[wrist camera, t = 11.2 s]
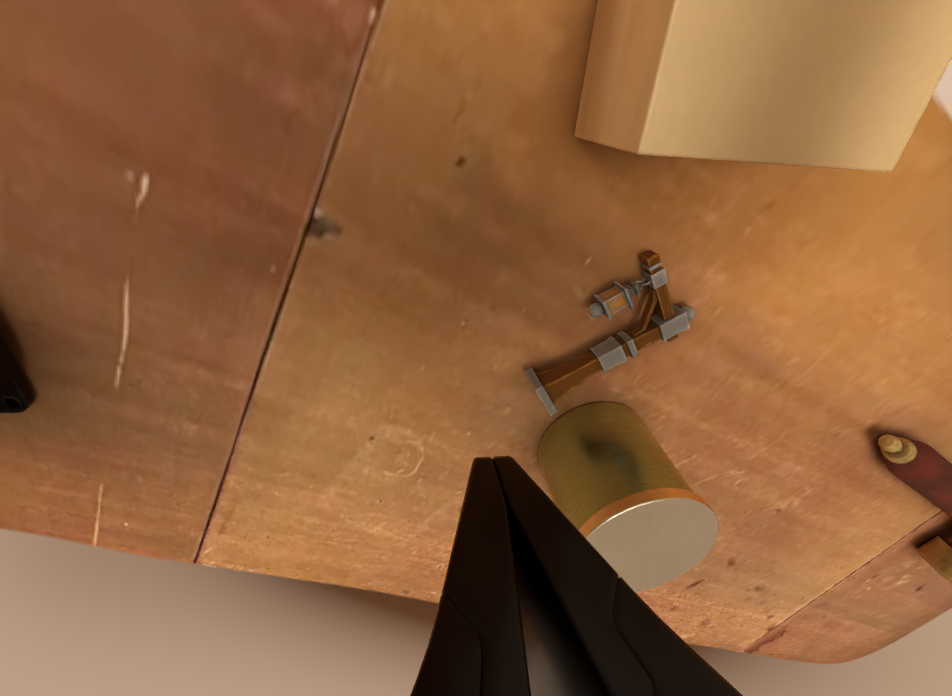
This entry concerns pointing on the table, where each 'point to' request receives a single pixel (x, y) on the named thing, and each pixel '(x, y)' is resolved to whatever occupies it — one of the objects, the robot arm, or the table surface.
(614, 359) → the wooden lantern post
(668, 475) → the enamel tin
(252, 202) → the table surface
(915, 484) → the gavel
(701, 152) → the birch block
